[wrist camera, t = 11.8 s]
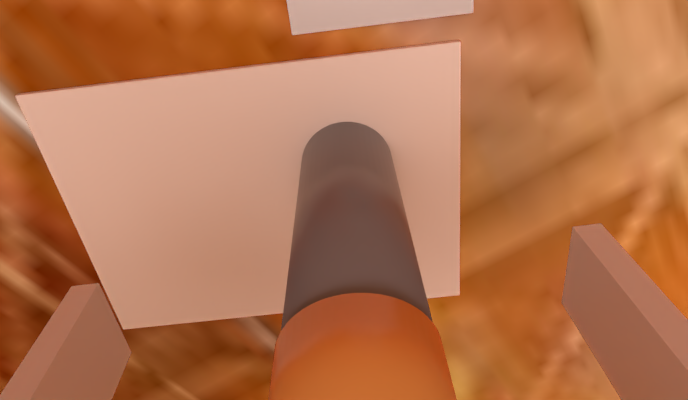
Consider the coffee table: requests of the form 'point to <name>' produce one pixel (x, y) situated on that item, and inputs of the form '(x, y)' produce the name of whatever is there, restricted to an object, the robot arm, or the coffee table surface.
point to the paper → (242, 173)
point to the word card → (366, 12)
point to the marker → (355, 283)
